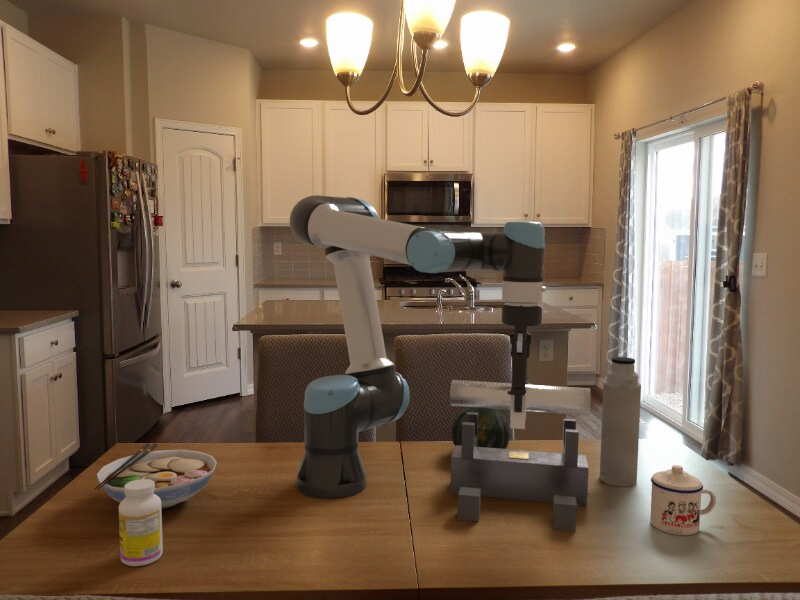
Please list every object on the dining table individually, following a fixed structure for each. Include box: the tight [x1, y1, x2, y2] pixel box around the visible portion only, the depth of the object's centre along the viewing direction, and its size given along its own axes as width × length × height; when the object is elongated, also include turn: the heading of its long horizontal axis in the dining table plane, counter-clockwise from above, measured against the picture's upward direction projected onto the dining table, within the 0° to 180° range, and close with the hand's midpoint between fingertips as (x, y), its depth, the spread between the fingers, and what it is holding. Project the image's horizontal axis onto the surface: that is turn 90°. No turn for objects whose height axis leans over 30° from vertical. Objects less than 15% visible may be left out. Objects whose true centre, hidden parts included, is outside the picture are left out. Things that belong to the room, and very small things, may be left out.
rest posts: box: [457, 487, 578, 532], centre depth 123 cm, size 22×4×5 cm, turn 78°
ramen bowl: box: [93, 442, 218, 510], centre depth 130 cm, size 25×23×8 cm
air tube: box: [449, 379, 592, 416], centre depth 123 cm, size 26×5×5 cm, turn 77°
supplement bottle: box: [118, 479, 164, 567], centre depth 107 cm, size 7×7×13 cm
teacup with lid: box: [649, 464, 717, 536], centre depth 122 cm, size 12×9×12 cm
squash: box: [451, 407, 511, 449], centre depth 161 cm, size 14×15×15 cm
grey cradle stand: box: [450, 412, 589, 507], centre depth 137 cm, size 28×10×16 cm, turn 78°
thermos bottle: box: [599, 356, 642, 488], centre depth 144 cm, size 8×8×28 cm
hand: (518, 423), depth 124 cm, fingers closed on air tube, 5 cm apart
